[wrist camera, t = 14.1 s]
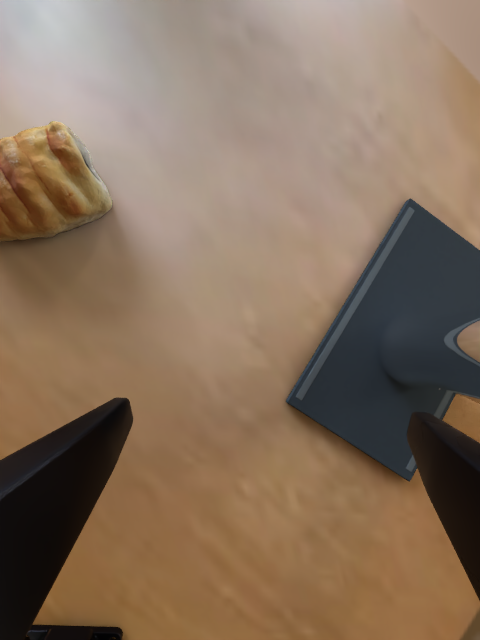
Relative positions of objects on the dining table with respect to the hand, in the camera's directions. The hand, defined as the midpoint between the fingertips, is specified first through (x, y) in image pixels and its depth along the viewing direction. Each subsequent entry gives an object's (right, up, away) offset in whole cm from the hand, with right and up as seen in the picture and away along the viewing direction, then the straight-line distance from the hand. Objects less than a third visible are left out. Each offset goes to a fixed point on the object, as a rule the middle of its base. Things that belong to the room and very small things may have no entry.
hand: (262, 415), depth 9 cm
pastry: (-14, +12, +11) cm, 22 cm away
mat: (+13, +2, +14) cm, 20 cm away
